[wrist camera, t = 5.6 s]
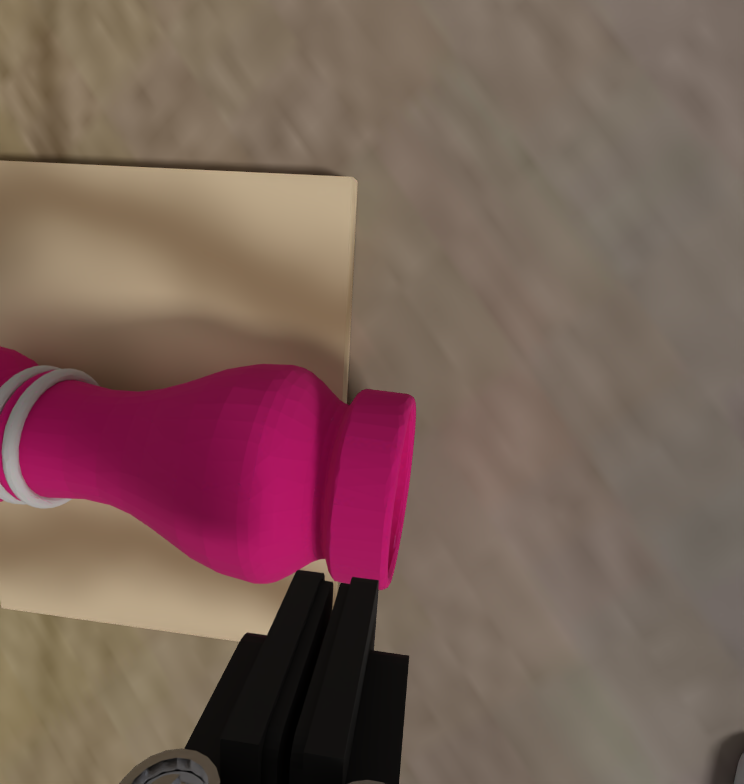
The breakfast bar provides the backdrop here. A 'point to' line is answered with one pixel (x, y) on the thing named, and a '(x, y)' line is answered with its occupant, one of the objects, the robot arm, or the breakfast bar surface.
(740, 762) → the remote control
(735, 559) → the breakfast bar surface
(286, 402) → the pepper mill
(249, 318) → the cutting board
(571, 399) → the breakfast bar surface
